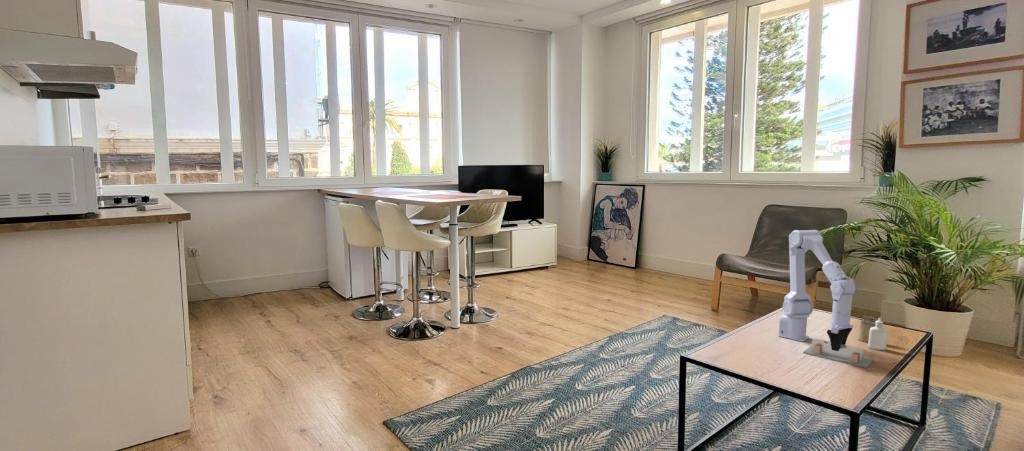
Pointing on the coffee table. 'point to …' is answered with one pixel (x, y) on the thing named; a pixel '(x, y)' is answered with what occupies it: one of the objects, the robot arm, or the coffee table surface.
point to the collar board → (853, 361)
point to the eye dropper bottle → (878, 336)
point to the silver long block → (843, 352)
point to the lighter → (866, 328)
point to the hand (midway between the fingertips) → (838, 347)
